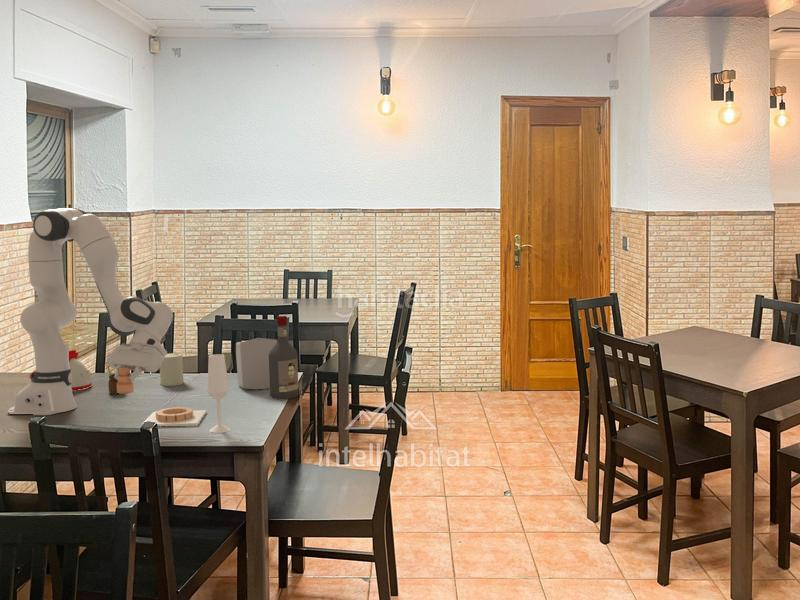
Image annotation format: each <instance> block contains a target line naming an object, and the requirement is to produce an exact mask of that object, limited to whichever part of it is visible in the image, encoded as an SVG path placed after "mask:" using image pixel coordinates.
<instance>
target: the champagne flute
mask: <svg viewBox="0 0 800 600" xmlns="http://www.w3.org/2000/svg"><path fill="white" fill-rule="evenodd" d="M229 390H230V388H229V380H228V373H227V365H226V356H225V354H210V355H208V370H207V388H206V391H207V394H208V395H209V396H210V397H211V398H212V399H213V400H215V401H216V413H217V414H216V415H217V416H216V417H217V424H216V425H215V426H213V427H211V429H209V430H208V431H210V432H209V433H212V432H213V433H212V434H222V433H227V432H229V431H231V428H229V427H228V426H226V425H223V424H222V409H221V408H222V407H221V406H222V405H221V404H222V403H221V400H223V399H224V398H225V397H227V395H228V393H229Z"/></svg>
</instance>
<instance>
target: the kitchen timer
mask: <svg viewBox="0 0 800 600" xmlns="http://www.w3.org/2000/svg"><path fill="white" fill-rule="evenodd" d="M68 353H69V368H70V369H71V375H72V383H71V388H72V390H78V389H83V388H87V387H89V386H91V385H92V384H93V383H92V378H91V370H89V369H87V367H86V366H85V364H83V362H82V361H80V360H79V359H78V356H79V352H78V351H77V350H76V349H71V350H68ZM92 386H93V385H92Z"/></svg>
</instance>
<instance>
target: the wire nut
mask: <svg viewBox="0 0 800 600" xmlns="http://www.w3.org/2000/svg"><path fill="white" fill-rule="evenodd" d="M129 374H131V370H130V368H129V367H122V368H119V375H118V383H117V393H119V394H118V395H122V394H123V395H125V394H126V395H127V394H128V395H129V394H132V393H134V392H135V391H134V381H129V380H128V379H127V377H128V376H129Z"/></svg>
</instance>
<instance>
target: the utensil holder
mask: <svg viewBox="0 0 800 600" xmlns="http://www.w3.org/2000/svg"><path fill="white" fill-rule="evenodd" d="M106 367H107V370H108V372H109V376H108V379H109V380H108V383H107V384H108V393H109V394H110V393H112V394H111V395H118V394H117V383H118V379H115V378H114V375H115V374H116V373H111V369H110V366H109V365H108V363H107V361H106Z"/></svg>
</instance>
